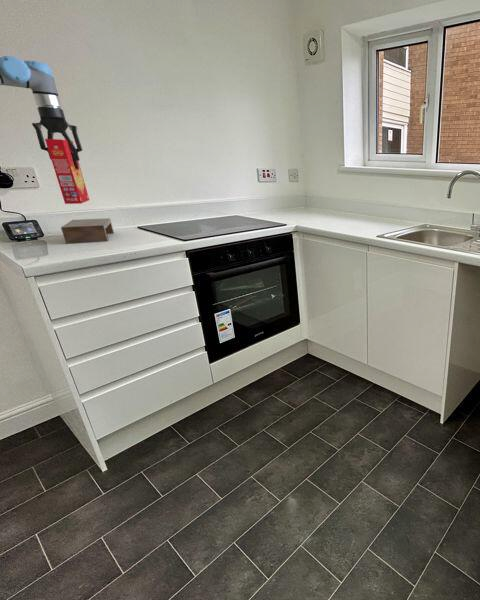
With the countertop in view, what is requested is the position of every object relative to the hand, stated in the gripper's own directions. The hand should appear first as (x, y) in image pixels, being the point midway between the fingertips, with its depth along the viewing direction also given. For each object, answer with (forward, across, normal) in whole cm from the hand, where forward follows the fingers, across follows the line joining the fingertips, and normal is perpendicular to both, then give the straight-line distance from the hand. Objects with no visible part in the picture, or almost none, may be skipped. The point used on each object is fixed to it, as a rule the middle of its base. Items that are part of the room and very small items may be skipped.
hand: (68, 168), depth 149 cm
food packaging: (+14, 0, 0) cm, 14 cm away
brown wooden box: (+30, -1, 0) cm, 30 cm away
